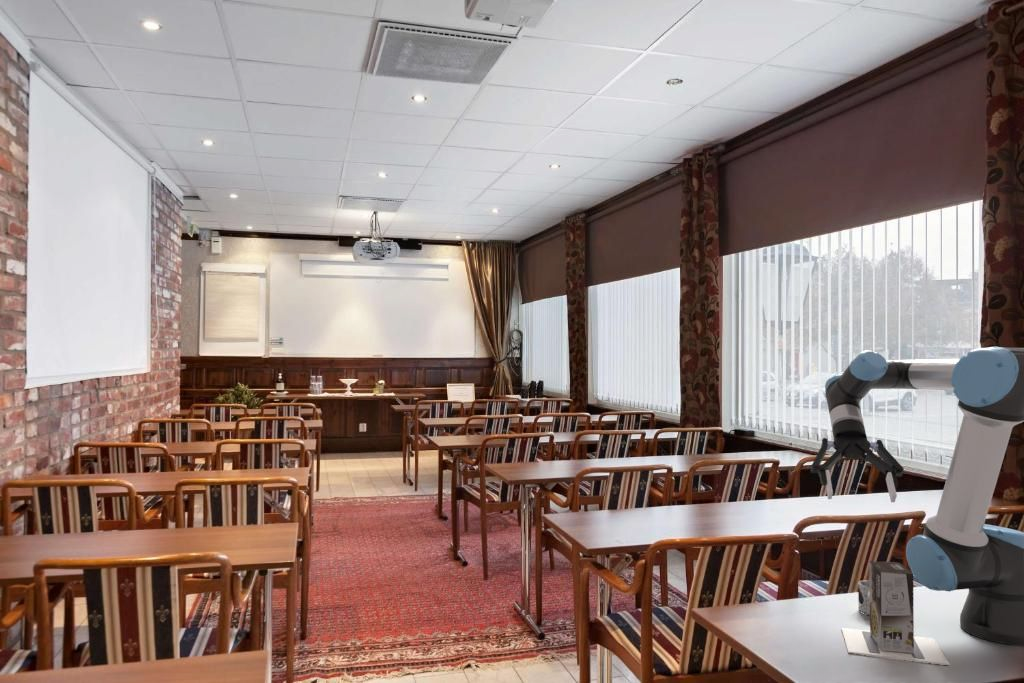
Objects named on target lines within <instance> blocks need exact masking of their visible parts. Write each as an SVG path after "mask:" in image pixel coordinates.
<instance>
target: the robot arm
mask: <svg viewBox="0 0 1024 683" xmlns="http://www.w3.org/2000/svg"><path fill="white" fill-rule="evenodd" d="M824 388H825V390H824V391H825V393H824V394H825V395H824V396H825V398H826V399H825V400H826V405H827V409H828V413H829V417H830V418H829V419H830V424H831V431H832V437H833V440H828V438H827V437H823V438H822V439H821V445H820V448H819V450H818V453H817V455H815V458H814V460H813V462H812V464H811V468H810V473H811V474H817V475H818V477H819V480H820V484H821V486H825V489H826V490H825V491H826V495H827V499H828V500H832V499H833V494H834V493H833V492H834V490H833V484H832V479H831V474H830V472H831V471H830V470H831V469H832V468H833V467H834V466H835V465H836V464H837V463H838V462H839V461H841V460H842V459H843V458H845V459H848V460H850V459H855V460H860V459H862V460H863V461H865V462H867V463H868V464H870V465H872V466H873V467H874V468H876V469H878V471H880V472H881V473H883V474H884V475H885V476H886V477H885V482H886V486H887V491H888V494H889V499H890V503H895V502H896V499H897V497H898V495H897V490H896V489H898V486H899V481H898V477H899V478H902V476H903V473H904V467H903V466H902V465H901V464H900V462H898V460H896V458H895V457H894V456H893V455H892V454H891V453H890V452H889V451H888V450H887V448H886V447H885V446H884V443H883V440H881V439H877V440H876V441H874V442H871V441H869V440H868V437H867V433H866V427H865V425H864V424H865V423H864V418H863V415H862V409H861V406H860V402H861V401H862V400H863V398H864V397H866V395H868V393H869V392H870V391H871V390H886V389H887V390H890V389H891V390H892V389H893V390H898V389H899V390H900V389H901V390H905V389H906V390H930V391H932V390H933V391H935V390H936V391H953V393H954V396H955V397H956V398H957V399H958V402H957V407H958V408H959V410H960V411H961V412H962V413H963V414H962V415H963V416H962V420H961V423H960V427H959V430H958V434H957V438H956V441H955V447H954V450H953V454H952V458H951V460H950V465H949V468H948V471H947V475H946V480H945V484H944V487H943V490H942V494H941V498H940V502H939V505H938V508H937V509H938V510H937V512H936V515H934V516H930V517H929V518H927V519H926V522H925V526H924V528H923V529H924V530H923V533H922V534H917V535H915V536H913V537H911V538H909V540H908V542H907V544H906V547H905V548H906V549H905V557H906V560H907V563H908V564H907V565H908V567H909V568H910V571H911V572H912V573H913V574H914V575H913V577H915V579H916V581H918V582H919V583H920V584H921V585H922V586H923V587H925V588H926V589H929V590H931V591H936V592H942V591H943V592H949V593H950V592H953V591H956V590H957V591H958V590H968V594H967V596H966V598H965V602H964V604H963V607H962V609H961V612H960V613H959V614H960V615H959V627H960V628H961V629H962V630H963V631H965V632H967V633H968V634H970V635H973V636H974V637H977V638H980V639H984V640H988V641H991V642H996V643H999V644H1006V645H1014V646H1024V532H1023V531H1020V530H1017V529H1012V528H1010V527H1009V528H1008V527H1003V526H998V525H994V524H993V525H992V524H986V523H985V522H986V519H987V517H988V513H989V510H990V506H991V502H992V499H993V496H994V495H993V494H994V493H995V488H996V485H997V483H998V479H999V476H1000V471H1001V468H1002V464H1003V461H1004V458H1005V454H1006V451H1007V447H1008V444H1009V440H1010V437H1011V433H1012V431H1013V428H1014V427H1015V426H1017V425H1019V424H1022V423H1023V422H1024V347H1002V346H1000V347H999V346H988V347H980V348H974V349H972V350H970V351H968V352H967V353H965V354H963V355H962V356H961V357H959V358H942V359H941V358H936V359H935V358H934V359H933V358H931V359H929V358H928V359H923V358H922V359H915V358H914V359H913V358H910V359H885V357H884V356H883V355H882V354H880V353H879V352H874V351H873V350H868V349H867V350H866V349H865V350H863V351H860V352H859V354H858V355H856V357H855V358H854V359H852V360H851V362H850V363H849V365H848V366H847V368H846V369H845V370H844V371H843V373H841V374H835V375H833V376H832V377H829V378H828V379H827V380H826V382H825V385H824ZM831 448H833V449H834V450H835V452H833V454H832V455H831V456H830V457H828V458H827V459H826V460H825V461H824V462H823V459H824V458H825V456H826V453H827V451H829V450H830V449H831ZM874 452H875V453H877V454H875V453H874ZM822 462H823V463H822ZM821 463H822V464H821Z"/></svg>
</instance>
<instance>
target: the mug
mask: <svg viewBox="0 0 1024 683" xmlns="http://www.w3.org/2000/svg"><path fill="white" fill-rule="evenodd" d="M857 585H858V586H857V588H858V589H857V590H858V592H857V593H858V598H857V599H858V612H859V611H860V612H862V613H864V614H866V615H865V616H867V615H869V616H868V617H870V588H869V579H868V580H859V581H858V583H857ZM860 612H859V613H860ZM862 613H861V614H862ZM864 614H863V615H864Z"/></svg>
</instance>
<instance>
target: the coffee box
mask: <svg viewBox="0 0 1024 683" xmlns="http://www.w3.org/2000/svg"><path fill="white" fill-rule="evenodd" d="M868 567H869V568H868V569H869V570H868V576H869V578H868V580H869V588H870V616H869V627H870V629H869V631H870V635H871V637H872V638H873V639H874V641H875V642H876V643H877V645H878V646H879V647H880V649H881V650H883V651H894V652H904V653H914V636H915V635H914V634H915V632H914V631H915V630H914V628H915V626H914V624H915V622H914V617H915V616H914V574H913V573H912V571H911V570H909V568H907V567H905V566H904V565H903V564H902V563H901V562H898V561H897V562H896V561H873V560H872V561H871V560H870V561H869V562H868Z"/></svg>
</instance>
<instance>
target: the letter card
mask: <svg viewBox="0 0 1024 683" xmlns="http://www.w3.org/2000/svg"><path fill="white" fill-rule="evenodd" d="M841 629H842V630H841ZM840 630H841V632H843V633H842V636H844V637H843V639H845V640H844V644H845V647H846V646H847V647H846V650H847V653H854V654H853V655H856V654H860V655H859V656H864V655H866V656H865V657H872V658H880V659H888V660H896V661H897V660H898V661H904V660H906V661H905V662H912V661H914V663H920V662H923V663H922V664H928V663H931V664H930V665H935V664H940V665H939V666H943V665H949V666H950V663H949V662H948V660H947V658H946V657H945V655H944V653H943V652H942V650H941V649H940V647H939V645H938V644H937V642H936V641H935V640H936V639H935V638H933V637H926V636H917V635H916V636H915V635H914V653H904V652H894V651H883V650H881V649H880V647H879V646H878V645H877V643H876V642H875V641H874V639H873V638H872V637H871V635H870V630H864V629H856V628H846V627H841V628H840Z"/></svg>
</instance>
